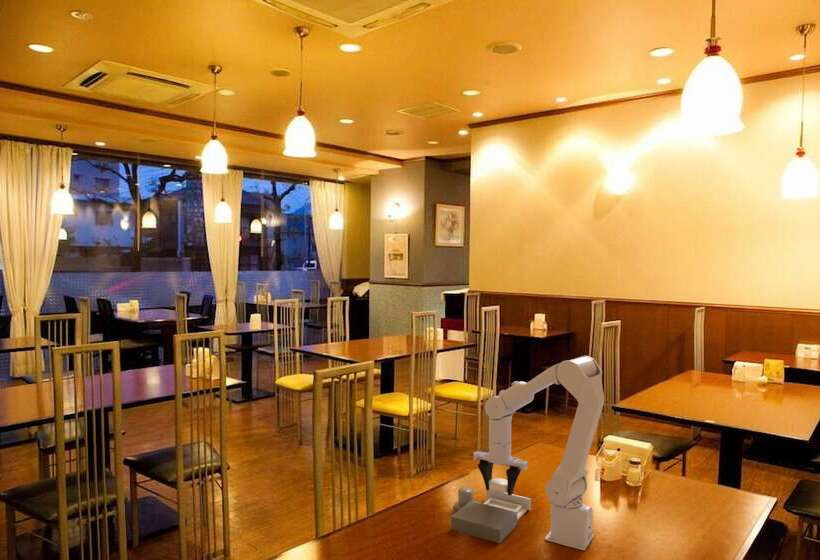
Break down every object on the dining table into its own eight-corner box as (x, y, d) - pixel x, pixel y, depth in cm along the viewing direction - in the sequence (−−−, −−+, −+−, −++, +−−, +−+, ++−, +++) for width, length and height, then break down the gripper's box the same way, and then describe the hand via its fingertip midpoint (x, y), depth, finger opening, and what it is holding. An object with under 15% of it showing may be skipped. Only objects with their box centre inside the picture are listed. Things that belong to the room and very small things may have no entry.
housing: (517, 525, 145) (517, 511, 145) (499, 543, 136) (499, 529, 136) (470, 512, 152) (470, 500, 152) (451, 529, 143) (451, 516, 143)
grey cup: (480, 505, 157) (480, 488, 157) (470, 513, 152) (470, 496, 152) (460, 500, 160) (460, 484, 160) (450, 508, 155) (450, 491, 155)
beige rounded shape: (513, 487, 153) (513, 481, 153) (505, 494, 148) (505, 488, 148) (494, 482, 156) (494, 476, 156) (485, 489, 151) (485, 483, 151)
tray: (530, 510, 154) (530, 498, 154) (514, 526, 145) (515, 514, 145) (487, 499, 161) (487, 488, 161) (469, 514, 151) (469, 502, 151)
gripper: (531, 441, 151) (531, 492, 151) (481, 432, 159) (481, 480, 159) (521, 449, 145) (521, 502, 146) (470, 439, 153) (469, 489, 153)
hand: (499, 491), depth 152 cm, fingers closed on beige rounded shape, 6 cm apart
